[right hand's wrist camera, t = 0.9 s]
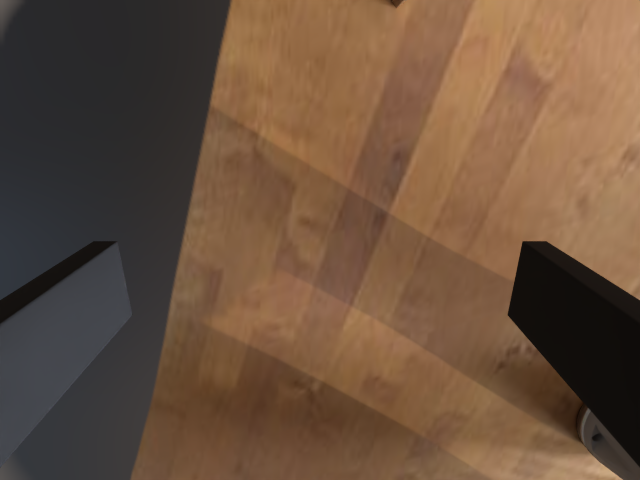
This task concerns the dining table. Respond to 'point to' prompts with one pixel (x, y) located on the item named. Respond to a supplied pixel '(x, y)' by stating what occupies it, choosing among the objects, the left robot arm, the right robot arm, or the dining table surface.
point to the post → (398, 2)
